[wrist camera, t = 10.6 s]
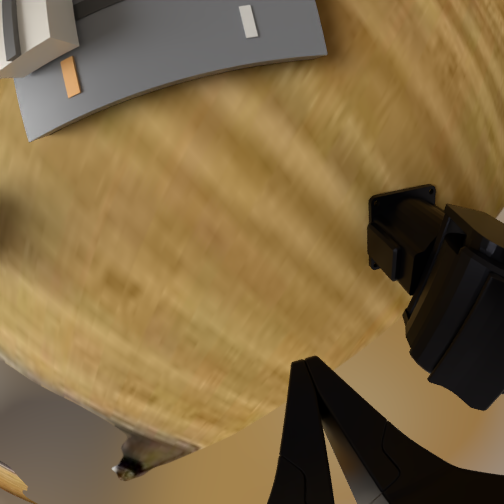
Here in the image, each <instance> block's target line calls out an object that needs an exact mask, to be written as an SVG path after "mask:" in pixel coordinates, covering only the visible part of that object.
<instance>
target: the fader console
mask: <svg viewBox="0 0 504 504" xmlns="http://www.w3.org/2000/svg"><path fill="white" fill-rule="evenodd" d="M72 3H73V11H74V17H75V24H76V30H77V36H78V41H79V47H77V48H75V49H73V50H71V51H69V52H67V53H65V54H63V55H61V56H59V57H57V58H56V59H54V60H52V61H50V62H48V63H47V64H45V65H43V66H42V67H40V68H38V69H37V70H35V71H33V72H32V73H30V74H29V75H27V76H25V77H24V78H14V83H15V88H16V93H17V98H18V102H19V107H20V111H21V115H22V119H23V123H24V126H25V130H26V134H27V137H28V141H29V142H32V141H34V140H37V139H40V138H43V137H45V136H48V135H50V134H52V133H54V132H56V131H58V130H60V129H62V128H64V127H66V126H68V125H70V124H72V123H74V122H76V121H78V120H81V119H83V118H85V117H87V116H89V115H92V114H94V113H96V112H99V111H101V110H104V109H106V108H108V107H111V106H113V105H116V104H119V103H121V102H124V101H127V100H129V99H132V98H135V97H138V96H140V95H143V94H146V93H149V92H152V91H155V90H159V89H162V88H165V87H168V86H172V85H175V84H179V83H182V82H186V81H190V80H193V79H197V78H201V77H205V76H209V75H214V74H218V73H223V72H227V71H232V70H237V69H243V68H248V67H254V66H260V65H266V64H273V63H281V62H289V61H298V60H308V59H315V58H318V57H322V56H325V55H328V54H327V49H326V44H325V40H324V35H323V31H322V27H321V22H320V18H319V14H318V10H317V6H316V3H315V0H72Z"/></svg>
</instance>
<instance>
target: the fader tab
mask: <svg viewBox="0 0 504 504" xmlns="http://www.w3.org/2000/svg"><path fill="white" fill-rule="evenodd" d="M77 47H79V41H78V36H77V30H76V24H75V17H74V11H73V3H72V0H0V78H24V77H25V76H27V75H29V74H30V73H32V72H33V71H35V70H37V69H38V68H40V67H42V66H43V65H45V64H47V63H48V62H50V61H52V60H54V59H56V58H57V57H59V56H61V55H63V54H65V53H67V52H69V51H71V50H73V49H75V48H77Z"/></svg>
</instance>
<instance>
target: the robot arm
mask: <svg viewBox="0 0 504 504" xmlns="http://www.w3.org/2000/svg"><path fill="white" fill-rule="evenodd" d="M430 189H431V190H430ZM429 190H430V192H429ZM435 193H436V190H435V187H434V186H432V185H431V184H427V185H422V186H417V187H413V188H408V189H403V190H398V191H393V192H388V193H384V194H379V195H374V196H372V197H371V198H370V199H369V224H368V227H367V252H368V254H369V266H370V267H371V268H372V269H373V270H376V269H379V268H381V269H382V270H383V271H384V272H385V274H386V275H387V276H388V277H389V278H390V279H391V280H392V281H396V280H397V281H398V282H399V283H400V284H401V286H402V287H403V288H404V289H405V290H406V291H407V293H408V294H409V295H410V296H411V295H413V297H412V299H411V301H410V303H409V305H408V307H407V308H406V309H405V311H404V313H403V319H404V323H405V326H406V327H405V329H406V338H407V341H408V343H409V345H410V348H411V349H410V351H409V352H410V355H411V357H412V358H413V359H414V360H415V362H416V363H417V364H418V365H419V366H421V367H422V368H423V369H424V370H425V371H427V372H428V373H430V375H429V377H428V378H427V379H428V381H429V382H431V383H434V384H437V385H441V386H443V387H445V388H447V389H448V390H450V391H452V392H453V393H454V394H456V395H457V396H458V397H459V398H461V399H462V400H463V401H464V402H465V403H466V404H467V405H469V406H470V407H471V408H474V409H478V410H483V411H484V410H487V409H488V408H489V407H490V406H491V404H492V403H493V402H494V401H495V400H496V399H497V398H498V397H499V396H500V395H501V394H504V223H502V222H500V221H498V220H497V219H495V218H493V217H492V216H490V215H488V214H486V213H484V212H480V211H476V210H472V209H468V208H464V207H459V206H455V205H451V204H446V207H445V210H442V209H441V208H439V207H438V206H436V205H435ZM376 200H377V203H376V204H375V205H374V202H375V201H376ZM374 263H376V264H374ZM323 429H324V431H325V433H326V435H327V438H328V440H329V442H330V444H331V447H332V449H333V451H334V453H335V455H336V457H337V460H338V462H339V464H340V466H341V469H342V471H343V473H344V475H345V478H346V480H347V482H348V484H349V486H350V489H351V491H352V493H353V495H354V497H355V500H356V502H357V504H504V475H497V474H490V473H484V472H478V471H472V470H467V469H462V468H458V467H456V466H453V465H451V464H449V463H447V462H446V461H444V460H442V459H441V458H439V457H437V456H436V455H434V454H432V453H431V452H429V451H428V450H426V449H425V448H423V447H421V446H420V445H418V444H417V443H415V442H414V441H413V440H411V439H410V438H408V437H407V436H406V435H404V434H403V433H402V432H401V431H400V430H398V429H397V428H396V427H395V426H394V425H392V424H391V423H390V422H389V421H387V419H386V418H384V417H383V416H382V415H381V414H380V413H379V412H378V411H377V410H375V409H374V408H373V407H372V406H371V405H370V404H369V403H368V402H367V401H365V400H364V399H363V398H362V397H361V396H360V395H359V394H358V393H357V392H356V391H354V390H353V389H352V388H351V387H350V386H349V385H348V384H347V383H346V382H345V381H344V380H342V379H341V378H340V377H339V376H338V375H337V374H336V373H335V372H334V371H333V370H332V369H331V368H330V367H328V366H327V365H326V364H325V363H324V362H323V361H322V360H321V359H320V358H319V357H317V356H312V357H308V358H305V360H303V359H301V360H298V361H294V362H292V363H291V370H290V378H289V387H288V395H287V403H286V412H285V418H284V426H283V433H282V439H281V446H280V453H279V454H280V456H279V458H278V465H277V470H276V475H275V480H274V483H273V487H272V490H271V494H270V497H269V499H268V502H267V504H334V496H333V489H332V483H331V476H330V469H329V463H328V457H327V451H326V445H325V438H324V433H323Z"/></svg>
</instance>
